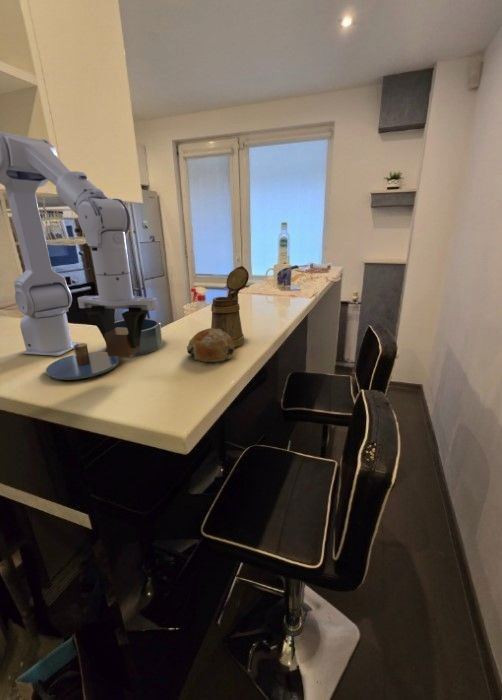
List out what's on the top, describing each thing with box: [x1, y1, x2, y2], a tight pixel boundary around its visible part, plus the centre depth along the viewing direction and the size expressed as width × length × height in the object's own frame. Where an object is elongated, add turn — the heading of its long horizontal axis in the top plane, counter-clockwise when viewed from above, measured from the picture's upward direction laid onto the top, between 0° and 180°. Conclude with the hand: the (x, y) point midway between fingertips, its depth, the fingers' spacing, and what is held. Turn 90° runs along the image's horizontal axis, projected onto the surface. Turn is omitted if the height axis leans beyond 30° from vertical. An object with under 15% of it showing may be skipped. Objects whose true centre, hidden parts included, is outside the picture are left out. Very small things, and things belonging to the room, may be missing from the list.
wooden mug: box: [210, 265, 250, 348], centre depth 82 cm, size 9×14×18 cm, turn 153°
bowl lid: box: [45, 342, 120, 381], centre depth 67 cm, size 14×14×5 cm
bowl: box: [114, 317, 163, 357], centre depth 79 cm, size 13×13×6 cm
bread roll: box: [186, 327, 235, 363], centre depth 73 cm, size 10×10×8 cm
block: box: [104, 327, 141, 358], centre depth 62 cm, size 4×4×4 cm
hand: (123, 345), depth 62 cm, fingers closed on block, 4 cm apart
